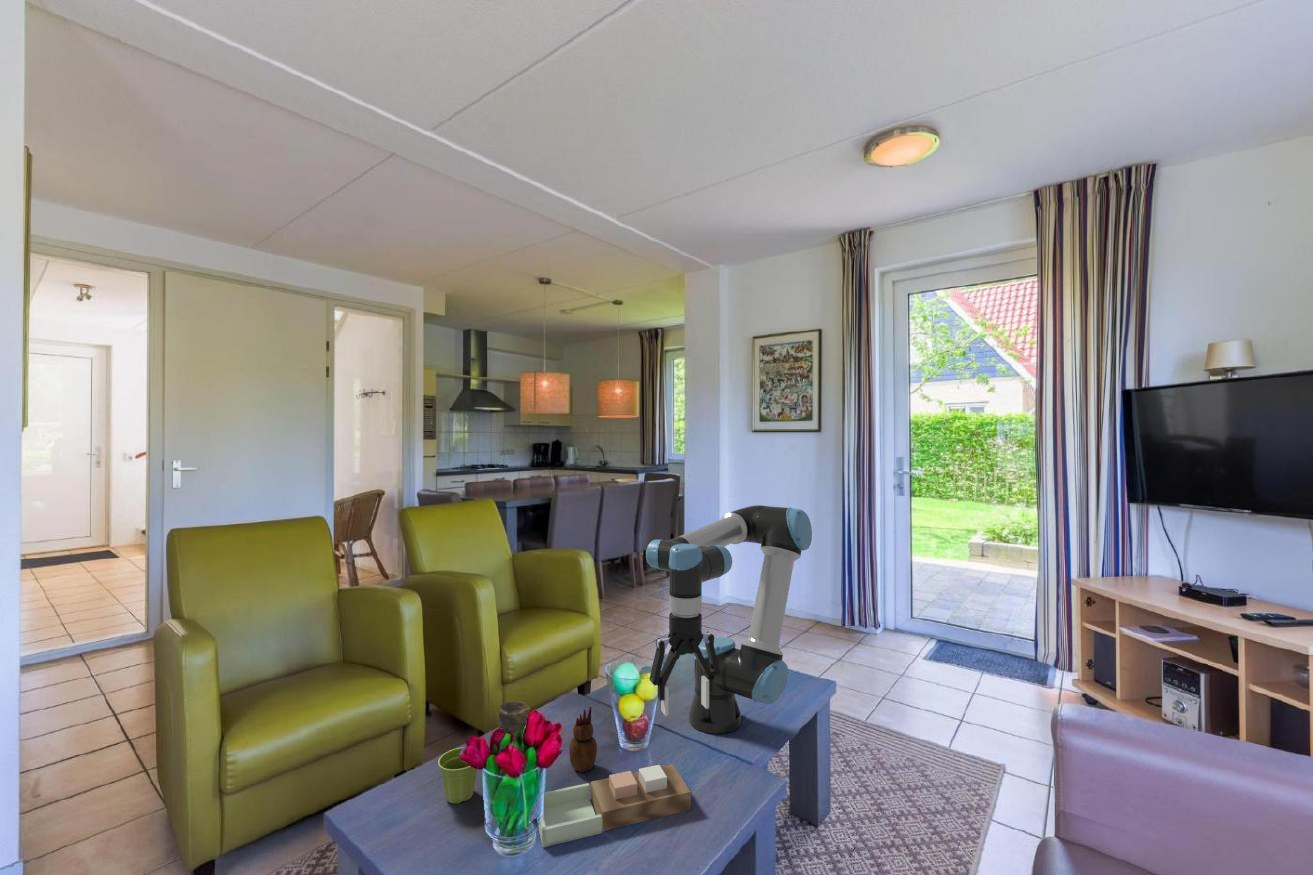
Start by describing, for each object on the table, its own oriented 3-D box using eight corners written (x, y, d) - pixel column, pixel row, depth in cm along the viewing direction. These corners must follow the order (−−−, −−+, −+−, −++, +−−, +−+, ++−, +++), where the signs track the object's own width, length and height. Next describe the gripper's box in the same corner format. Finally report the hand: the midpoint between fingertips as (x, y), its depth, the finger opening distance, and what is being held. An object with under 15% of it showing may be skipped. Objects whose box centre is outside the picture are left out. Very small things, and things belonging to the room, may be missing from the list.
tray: (588, 798, 129) (588, 783, 129) (601, 833, 118) (601, 816, 118) (534, 810, 125) (534, 794, 125) (542, 847, 113) (542, 830, 113)
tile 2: (659, 775, 131) (659, 764, 131) (666, 788, 126) (667, 776, 126) (638, 779, 129) (638, 768, 129) (645, 792, 125) (645, 781, 125)
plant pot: (452, 780, 135) (452, 744, 135) (488, 785, 134) (488, 748, 134) (429, 806, 126) (429, 767, 126) (468, 811, 124) (468, 772, 124)
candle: (501, 782, 135) (501, 699, 134) (532, 781, 135) (533, 697, 135) (495, 803, 127) (495, 714, 127) (528, 801, 128) (528, 713, 127)
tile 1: (630, 781, 129) (630, 770, 129) (637, 794, 124) (637, 783, 124) (609, 786, 127) (609, 775, 127) (615, 799, 122) (615, 788, 122)
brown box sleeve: (672, 781, 135) (672, 764, 135) (690, 809, 125) (690, 791, 125) (590, 799, 129) (590, 781, 128) (602, 831, 118) (602, 812, 118)
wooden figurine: (598, 762, 143) (598, 703, 143) (594, 775, 137) (594, 714, 137) (572, 760, 144) (572, 701, 144) (566, 774, 138) (566, 712, 138)
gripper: (721, 603, 138) (721, 695, 138) (634, 612, 130) (634, 709, 130) (735, 612, 130) (735, 709, 131) (645, 623, 123) (645, 725, 123)
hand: (685, 709), depth 130 cm, fingers open, 9 cm apart
